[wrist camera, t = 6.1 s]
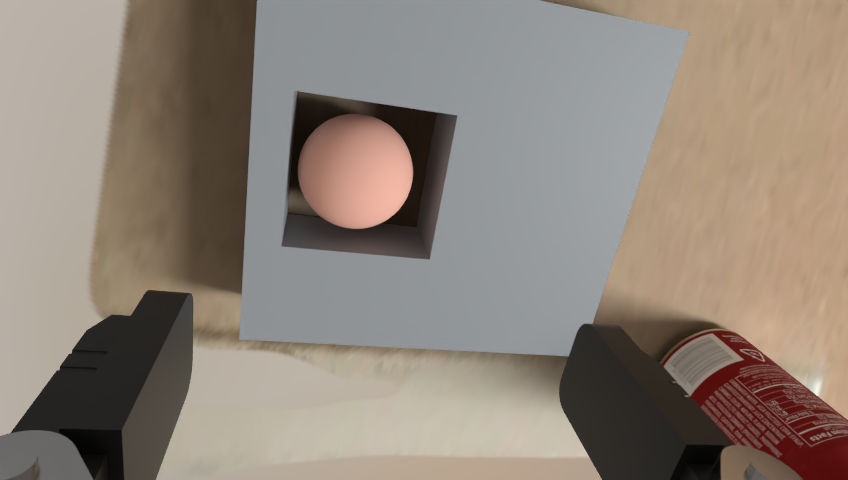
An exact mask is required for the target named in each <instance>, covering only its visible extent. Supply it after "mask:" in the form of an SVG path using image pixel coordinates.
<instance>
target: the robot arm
mask: <svg viewBox="0 0 848 480" xmlns="http://www.w3.org/2000/svg"><path fill="white" fill-rule="evenodd" d="M192 355H193V297H192V294H191V293H181V292H167V291H154V290H148V291H147V292H146V293H145V294H144V296H143V297H142V299H141V301H140V302H139V304H138V305H137V307H136V308H135V310H134V312H133V313H132V315H131V316H123V315H111V316H109V317H107V318H106V319H104V320H103V321H101V322H99V323H98V324H97V325H95V326H93V327H92V328H90V329H88V330H87V331H86V332H85V333H84V335H83V336H82V338H81V339H80V340H79V342H78V343H77V344H76V346H75V347H74V348H73V350H72V354H69V355H68V356H67V358H66V359H65V360H64V362H63V363H62V365H61V366H60V370H59V371H56V373H55V374H54V375H53V377H52V378H51V379H50V381H49V382H48V383H47V385H46V386H45V387H44V389H43V390H42V392H41V393H40V394H39V396H38V397H37V398H36V400H35V401H34V402H33V404H32V405H31V406H30V408H29V409H28V410H27V412H26V413H25V414H24V416H23V417H22V418H21V420H20V421H19V422H18V424H17V425H16V426H15V428H14V429H13V430H12V432H11V433H10V434H6V435H3V436H0V480H156V477H157V474H158V472H159V469H160V466H161V464H162V461H163V458H164V455H165V453H166V450H167V447H168V445H169V442H170V439H171V436H172V434H173V431H174V428H175V426H176V423H177V420H178V417H179V415H180V412H181V409H182V407H183V404H184V401H185V398H186V396H187V392H188V389H189V384H190V379H191V372H192V360H193V359H192V358H193V356H192ZM559 396H560V402H561V406H562V409H563V411H564V413H565V414H566V416H567V418H568V420H569V422H570V423H571V425H572V427H573V429H574V430H575V432H576V434H577V436H578V438H579V439H580V441H581V443H582V445H583V446H584V448H585V450H586V452H587V454H588V455H589V457H590V459H591V461H592V462H593V464H594V466H595V467H596V469H597V471H598V473H599V475H600V477H601V478H602V480H803V479H802V478H801V477H800V476H799V475H798V474H797V473H796V472H795V471H794V470H792V469H791V468H790V467H788V466H787V465H786V464H784V463H783V462H781V461H780V460H778V459H776V458H775V457H773V456H771V455H769V454H767V453H765V452H763V451H760V450H757V449H755V448H751V447H747V446H742V445H734V444H733V443H732V442H731V441H730V440H729V439H728V438H727V436H726V435H725V434H724V433H723V432H722V431H721V430H720V429H719V428H718V426H717V425H716V424H715V423H714V422H713V421H712V420H711V419H710V418H709V417H708V415H707V414H706V413H705V412H704V411H703V410H702V409H701V408H700V407H699V405H698V404H697V403H696V402H695V401H694V400H693V399H690V398H689V394H688V393H687V392H686V391H685V390H684V389H683V388H682V387H681V386H680V385H677V381H676V380H675V379H674V378H673V377H672V376H671V374H670V373H669V372H668V371H667V370H666V369H665V368H664V367H663V366H662V365H661V364H660V363H659V362H657V361H656V360H654V359H653V358H651V357H650V356H649V355H647V354H646V353H644V352H643V351H641V350H640V348H639V347H638V346H637V345H636V344H635V343H634V342H633V340H632V339H631V338H630V337H629V336H628V335H627V334H626V333H625V331H624V330H623V329H622V328H621V327H619V326H615V325H601V324H583V325H582V326H581V327H580V328H579V329H578V331H577V334H576V337H575V340H574V343H573V345H572V348H571V351H570V354H569V357H568V360H567V363H566V366H565V369H564V372H563V375H562V378H561V381H560V388H559Z"/></svg>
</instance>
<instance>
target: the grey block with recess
mask: <svg viewBox="0 0 848 480" xmlns="http://www.w3.org/2000/svg"><path fill="white" fill-rule="evenodd" d="M689 33H690V32H689V31H685V30H680V29H675V28H670V27H665V26H661V25H656V24H651V23H646V22H641V21H637V20H632V19H627V18H622V17H617V16H613V15H608V14H603V13H598V12H593V11H589V10H584V9H579V8H574V7H569V6H565V5H560V4H555V3H550V2H545V1H541V0H257V11H256V30H255V49H254V68H253V87H252V107H251V126H250V145H249V164H248V183H247V203H246V222H245V241H244V260H243V280H242V299H241V318H240V337H239V339H242V340H261V341H281V342H300V343H320V344H339V345H359V346H378V347H398V348H417V349H437V350H456V351H476V352H495V353H514V354H534V355H553V356H569V354H570V351H571V348H572V345H573V343H574V340H575V337H576V334H577V331H578V329H579V328H580V327H581V326H582V325H583V324H593V321H594V318H595V315H596V312H597V309H598V306H599V303H600V300H601V297H602V294H603V291H604V288H605V285H606V282H607V279H608V276H609V273H610V270H611V267H612V264H613V261H614V258H615V255H616V252H617V249H618V246H619V243H620V240H621V237H622V234H623V231H624V228H625V225H626V222H627V219H628V216H629V213H630V210H631V207H632V204H633V201H634V198H635V195H636V192H637V189H638V186H639V183H640V180H641V177H642V174H643V171H644V168H645V165H646V162H647V159H648V156H649V153H650V150H651V147H652V144H653V141H654V138H655V135H656V132H657V129H658V126H659V123H660V120H661V117H662V114H663V111H664V108H665V105H666V102H667V99H668V96H669V93H670V90H671V87H672V84H673V81H674V78H675V75H676V72H677V69H678V66H679V63H680V60H681V57H682V54H683V51H684V48H685V45H686V42H687V39H688V36H689ZM298 91H300V92H306V93H313V94H319V95H326V96H333V97H339V98H346V99H352V100H359V101H365V102H372V103H379V104H385V105H392V106H398V107H405V108H412V109H418V110H425V111H431V112H437V114H436V120H435V125H434V131H433V136H432V142H431V147H430V153H429V159H428V164H427V170H426V175H425V181H424V187H423V192H422V198H421V203H420V209H419V215H418V220H417V226H416V227H412V226H402V225H392V224H383V223H380V224H378V225H375V226H373V227H369V228H363V229H350V228H344V227H340V226H337V225H334V224H332V223H330V222H328V221H326V220H325V219H323V218H322V217H314V216H304V215H295V214H288V204H289V191H290V179H291V167H292V155H293V143H294V131H295V119H296V107H297V95H298Z"/></svg>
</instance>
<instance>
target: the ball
mask: <svg viewBox="0 0 848 480" xmlns="http://www.w3.org/2000/svg"><path fill="white" fill-rule="evenodd" d="M298 179H299V184H300V188H301V191H302V193H303V195H304V197H305V199H306V201H307V202H308V204H309V205H310V206H311V208H312V209H313V210H314V211H315V212H316V213H317V214H318V215H319V216H321V217H322V218H323V219H325V220H326V221H328V222H330V223H332V224H334V225H337V226H340V227H344V228H350V229H363V228H369V227H373V226H375V225H378V224H380V223H382V222H384V221H386V220H388V219H389V218H390V217H392V216H393V215H394V214H395V213H396V212H397V211H398V210H399V209H400V208H401V206H402V205H403V204H404V202H405V201H406V199H407V197H408V194H409V192H410V189H411V185H412V180H413V166H412V160H411V156H410V153H409V150H408V148H407V146H406V144H405V142H404V140H403V139H402V137H401V136H400V135H399V134H398V133H397V132H396V131H395V130H394V129H393V128H392V127H391V126H390V125H388V124H387V123H385V122H383V121H381V120H380V119H378V118H375V117H372V116H369V115H364V114H346V115H340V116H337V117H334V118H332V119H329V120H328V121H326V122H324V123H323V124H321V125H320V126H319V127H317V128H316V129H315V130H314V131H313V132H312V134H311V135H310V136H309V137H308V139H307V140H306V142H305V144H304V146H303V148H302V150H301V153H300V157H299V162H298Z"/></svg>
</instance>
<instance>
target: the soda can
mask: <svg viewBox="0 0 848 480" xmlns="http://www.w3.org/2000/svg"><path fill="white" fill-rule="evenodd" d="M660 364H661V365H662V366H663V367H664V368H665V369H666V370H667V371H668V372H669V373H670V374H671V376H672V377H673V378H674V379H675V380H676V381H677V385H680V386H681V387H682V388H683V389H684V390H685V391H686V392H687V393H688V394H689V398H690V399H693V400H694V401H695V402H696V403H697V404H698V405H699V407H700V408H701V409H702V410H703V411H704V412H705V413H706V414H707V415H708V417H709V418H710V419H711V420H712V421H713V422H714V423H715V424H716V425H717V426H718V428H719V429H720V430H721V431H722V432H723V433H724V434H725V435H726V436H727V438H728V439H729V440H730V441H731V442H732V443H733V444H734V445H742V446H747V447H751V448H755V449H757V450H760V451H763V452H765V453H767V454H769V455H771V456H773V457H775V458H776V459H778V460H780V461H781V462H783V463H784V464H786V465H787V466H788V467H790V468H791V469H792V470H794V471H795V472H796V473H797V474H798V475H799V476H800V477H801V478H802V479H803V480H848V420H847V419H846V418H844V417H843V416H842V415H840V414H839V413H838V412H837V411H835V410H834V409H833V408H832V407H830V406H829V405H828V404H827V403H825V402H824V401H823V400H821V399H820V398H819V397H818V396H816V395H815V394H814V393H813V392H811V391H810V390H809V389H808V388H806V387H805V386H804V385H802V384H801V383H800V382H799V381H797V380H796V379H795V378H794V377H792V376H791V375H790V374H789V373H787V372H786V371H785V370H783V369H782V368H781V367H780V366H778V365H777V364H776V363H775V362H773V361H772V360H771V359H770V358H768V357H767V356H766V355H764V354H763V353H762V352H761V351H759V350H758V349H757V348H756V347H754V346H753V345H752V344H751V343H749V342H748V341H747V340H745V339H744V338H743V337H742V336H740V335H739V334H737V333H735V332H733V331H730V330H726V329H708V330H704V331H700V332H697V333H694V334H692V335H690V336H688V337H686V338H684V339H683V340H681V341H680V342H678V343H677V344H676V345H675V346H673V347H672V348H671V349H670V350H669V351H668V352H667V353H666V355H665V356H664V357H663V358H662V360H661V361H660Z"/></svg>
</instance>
